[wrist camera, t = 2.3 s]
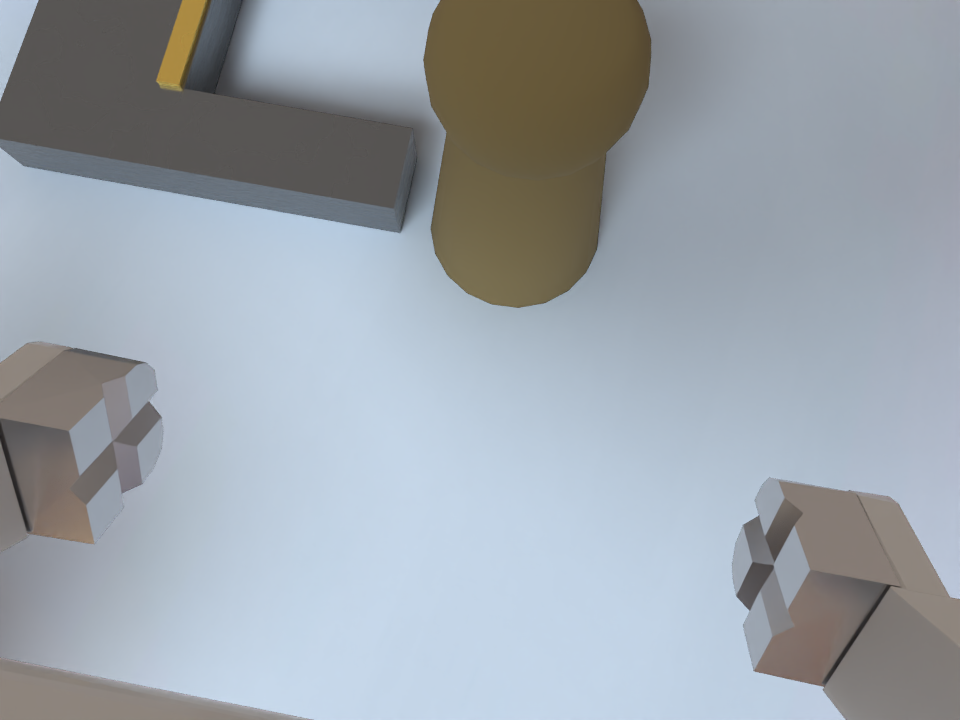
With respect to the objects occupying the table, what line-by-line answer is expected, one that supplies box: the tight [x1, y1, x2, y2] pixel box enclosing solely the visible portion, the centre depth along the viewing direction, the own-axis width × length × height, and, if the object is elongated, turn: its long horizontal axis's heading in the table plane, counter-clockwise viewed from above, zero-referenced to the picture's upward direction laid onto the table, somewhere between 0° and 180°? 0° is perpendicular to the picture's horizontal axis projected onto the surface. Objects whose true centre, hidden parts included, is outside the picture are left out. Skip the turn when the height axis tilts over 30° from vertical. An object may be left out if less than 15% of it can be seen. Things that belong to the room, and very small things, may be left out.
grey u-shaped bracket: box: [0, 0, 417, 233], centre depth 26 cm, size 14×14×2 cm
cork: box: [423, 0, 651, 308], centre depth 20 cm, size 6×6×11 cm
